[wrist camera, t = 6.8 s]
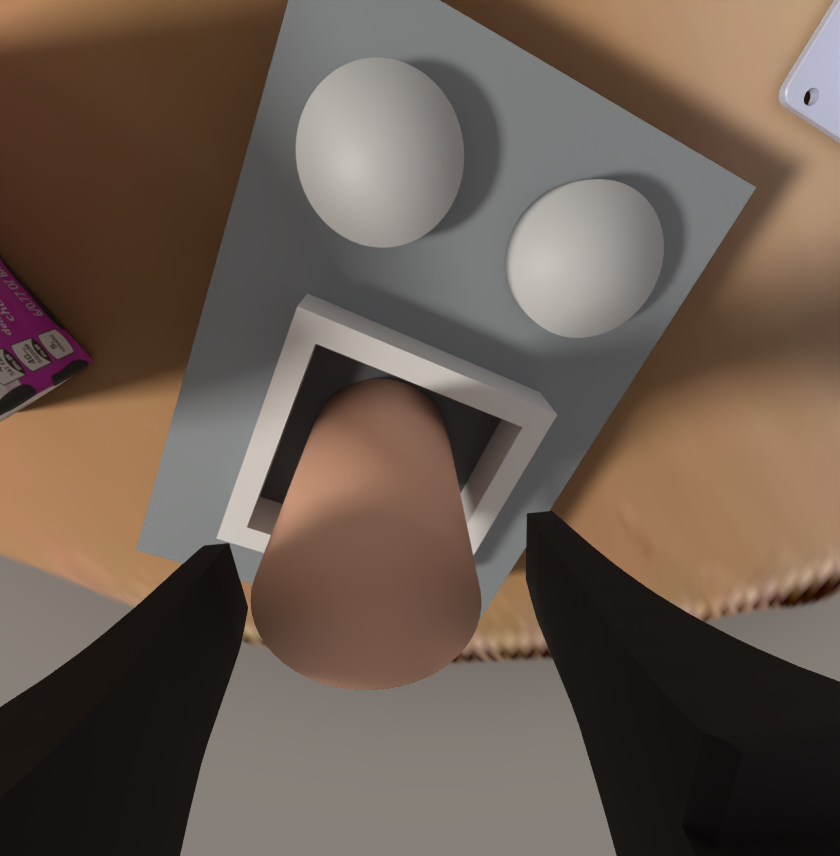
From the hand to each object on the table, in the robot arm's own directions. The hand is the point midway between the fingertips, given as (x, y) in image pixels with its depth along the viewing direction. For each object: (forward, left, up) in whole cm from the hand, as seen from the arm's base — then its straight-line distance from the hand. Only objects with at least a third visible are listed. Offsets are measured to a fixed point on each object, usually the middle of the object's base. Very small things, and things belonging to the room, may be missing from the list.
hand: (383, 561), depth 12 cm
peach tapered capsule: (0, 0, -6) cm, 6 cm away
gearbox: (0, -2, -10) cm, 11 cm away
